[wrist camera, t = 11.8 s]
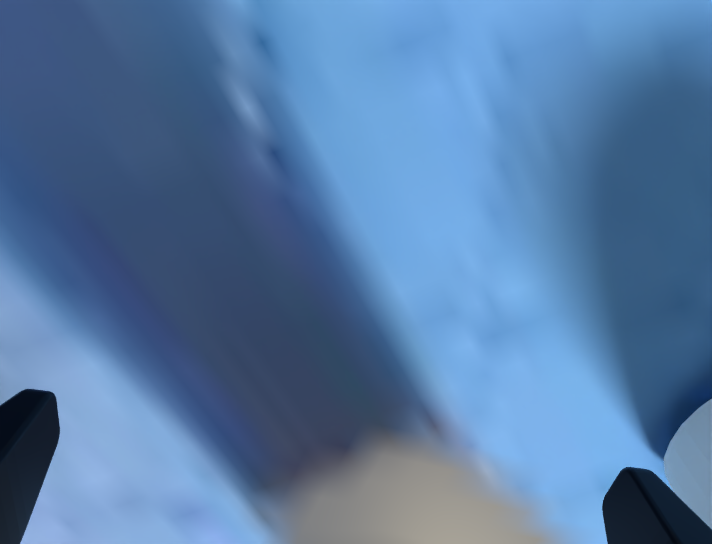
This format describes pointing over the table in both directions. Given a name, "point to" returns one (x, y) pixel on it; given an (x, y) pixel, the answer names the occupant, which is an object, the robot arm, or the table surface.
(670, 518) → the robot arm
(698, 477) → the cup
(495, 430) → the table surface
